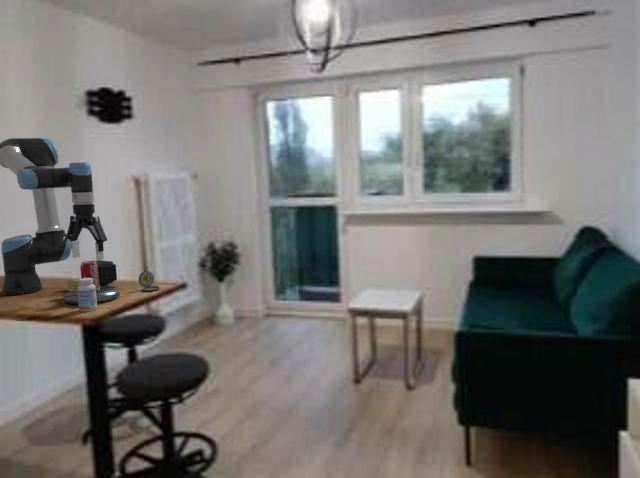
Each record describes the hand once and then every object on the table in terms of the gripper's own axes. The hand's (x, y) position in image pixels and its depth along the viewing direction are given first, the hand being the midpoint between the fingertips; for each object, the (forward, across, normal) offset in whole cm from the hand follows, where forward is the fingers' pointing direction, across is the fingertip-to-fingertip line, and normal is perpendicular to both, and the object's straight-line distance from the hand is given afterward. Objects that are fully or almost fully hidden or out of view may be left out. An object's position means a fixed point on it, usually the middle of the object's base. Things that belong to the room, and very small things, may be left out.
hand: (88, 258), depth 214 cm
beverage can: (+13, +1, 0) cm, 13 cm away
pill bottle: (+16, +13, -12) cm, 24 cm away
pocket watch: (+16, +10, +21) cm, 28 cm away
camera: (+17, -16, +18) cm, 29 cm away
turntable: (+15, -1, 0) cm, 15 cm away
